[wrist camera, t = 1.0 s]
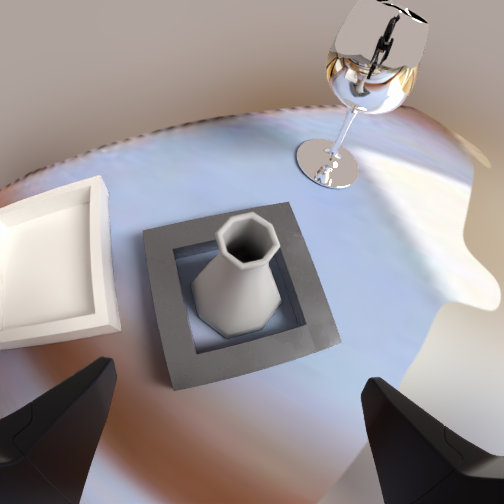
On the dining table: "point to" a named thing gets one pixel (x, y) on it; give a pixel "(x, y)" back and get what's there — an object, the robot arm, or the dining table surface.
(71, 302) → the tray
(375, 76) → the wineglass
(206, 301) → the flask
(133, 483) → the dining table surface
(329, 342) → the holder
